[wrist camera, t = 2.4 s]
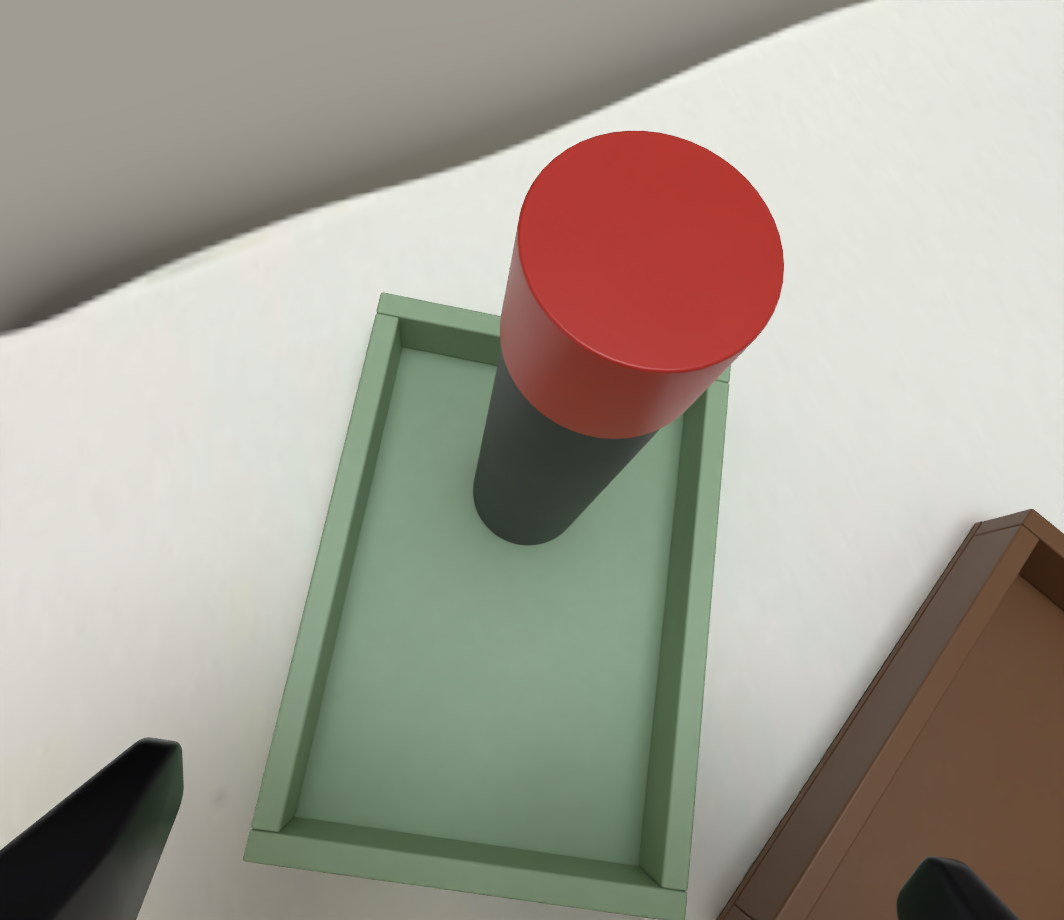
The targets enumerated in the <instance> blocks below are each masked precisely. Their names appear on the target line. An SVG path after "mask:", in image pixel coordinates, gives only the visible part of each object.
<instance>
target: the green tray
mask: <svg viewBox="0 0 1064 920" xmlns="http://www.w3.org/2000/svg"><path fill="white" fill-rule="evenodd" d="M500 319H501V316H497V315H492V314H487V313H482V312H477V311H472V310H467V309H462V308H457V307H452V306H447V305H442V304H437V303H432V302H427V301H422V300H417V299H412V298H407V297H403V296H398V295H393V294H388V293H381V295H380V299H379V303H378V307H377V314H376V316H375V320H374V324H373V328H372V332H371V336H370V340H369V344H368V348H367V353H366V357H365V361H364V365H363V369H362V373H361V377H360V381H359V385H358V390H357V394H356V398H355V402H354V406H353V410H352V414H351V418H350V422H349V427H348V431H347V435H346V439H345V443H344V447H343V451H342V455H341V459H340V463H339V468H338V472H337V476H336V480H335V484H334V488H333V492H332V496H331V500H330V505H329V509H328V513H327V517H326V521H325V525H324V529H323V533H322V537H321V541H320V546H319V550H318V554H317V558H316V562H315V566H314V570H313V574H312V578H311V583H310V587H309V591H308V595H307V599H306V603H305V607H304V611H303V615H302V620H301V624H300V628H299V632H298V636H297V640H296V644H295V648H294V652H293V656H292V661H291V665H290V669H289V673H288V677H287V681H286V685H285V689H284V693H283V698H282V702H281V706H280V710H279V714H278V718H277V722H276V726H275V730H274V734H273V739H272V743H271V747H270V751H269V755H268V759H267V763H266V767H265V771H264V776H263V780H262V784H261V788H260V792H259V796H258V800H257V804H256V808H255V813H254V817H253V821H252V828H253V829H252V830H251V831H250V832H249V837H248V841H247V845H246V849H245V853H244V857H243V860H244V861H245V862H253V863H260V864H267V865H274V866H281V867H288V868H296V869H303V870H310V871H317V872H324V873H331V874H338V875H346V876H353V877H360V878H367V879H374V880H381V881H389V882H396V883H403V884H410V885H417V886H424V887H432V888H439V889H446V890H453V891H460V892H467V893H474V894H482V895H489V896H496V897H503V898H510V899H517V900H525V901H532V902H539V903H546V904H553V905H560V906H567V907H575V908H582V909H589V910H596V911H603V912H610V913H618V914H625V915H632V916H639V917H646V918H653V919H661V920H685V914H686V902H687V892H686V890H687V888H688V876H689V864H690V852H691V840H692V828H693V816H694V804H695V791H696V779H697V767H698V755H699V743H700V731H701V719H702V707H703V695H704V682H705V670H706V658H707V646H708V634H709V622H710V610H711V598H712V586H713V573H714V561H715V549H716V537H717V525H718V513H719V501H720V489H721V476H722V464H723V452H724V440H725V428H726V416H727V404H728V392H729V384H728V383H729V380H730V368H731V365H730V366H729V367H728V368H727V369H726V370H725V371H724V372H723V373H722V374H721V375H720V376H719V377H718V378H717V379H716V380H715V381H714V382H713V383H712V384H711V385H710V386H709V387H708V388H707V389H706V390H705V391H704V392H703V393H702V395H701V396H700V397H699V398H698V399H697V400H696V401H695V402H694V403H693V404H692V405H691V406H690V407H689V408H688V409H687V410H686V411H685V412H684V413H683V414H682V415H680V416H679V417H678V418H677V419H675V420H674V421H672V422H671V423H670V424H668V425H666V426H664V427H662V428H661V429H660V430H659V431H658V432H657V433H656V434H655V435H654V436H653V437H652V439H651V440H650V441H649V442H648V443H647V444H646V445H645V446H644V447H643V448H642V449H641V450H640V451H639V452H638V454H637V455H636V456H635V457H634V458H633V459H632V460H631V461H630V462H629V463H628V464H627V465H626V466H625V467H624V469H623V470H622V471H621V472H620V473H619V474H618V475H617V476H616V477H615V478H614V479H613V480H612V481H611V482H610V483H609V485H608V486H607V487H606V488H605V489H604V490H603V491H602V492H601V493H600V494H599V495H598V496H597V497H596V498H595V500H594V501H593V502H592V503H591V504H590V505H589V506H588V507H587V508H586V509H585V510H584V511H583V512H582V513H581V514H580V516H579V517H578V518H577V519H576V520H575V521H574V522H573V523H572V524H571V525H570V526H569V527H568V528H567V529H566V530H565V531H564V532H563V533H562V534H561V535H559V536H558V537H556V538H555V539H553V540H551V541H548V542H546V543H542V544H538V545H519V544H514V543H511V542H508V541H506V540H504V539H502V538H500V537H498V536H497V535H495V534H494V533H493V532H492V531H491V530H489V528H488V527H487V526H486V525H485V524H484V523H483V521H482V520H481V518H480V516H479V514H478V512H477V510H476V507H475V503H474V499H473V483H474V478H475V473H476V468H477V463H478V458H479V453H480V448H481V443H482V439H483V434H484V429H485V424H486V419H487V414H488V409H489V404H490V399H491V394H492V389H493V384H494V379H495V374H496V369H497V364H498V359H499V354H500V349H501V342H500Z"/></svg>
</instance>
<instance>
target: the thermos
mask: <svg viewBox="0 0 1064 920" xmlns="http://www.w3.org/2000/svg"><path fill="white" fill-rule="evenodd" d="M783 272H784V261H783V249H782V245H781V240H780V235H779V232H778V230H777V227H776V224H775V221H774V219H773V217H772V215H771V213H770V211H769V209H768V207H767V205H766V204H765V202H764V201H763V199H762V198H761V196H760V195H759V193H758V192H757V191H756V189H755V188H754V187H753V186H752V185H751V183H750V182H749V181H748V180H747V179H746V178H745V177H744V176H743V175H742V174H741V173H740V172H739V171H738V170H737V169H736V168H734V167H733V166H732V165H730V164H729V163H728V162H726V161H725V160H724V159H722V158H721V157H719V156H718V155H716V154H714V153H713V152H711V151H709V150H708V149H706V148H704V147H701V146H699V145H697V144H695V143H693V142H690V141H687V140H685V139H682V138H679V137H676V136H671V135H667V134H663V133H657V132H648V131H622V132H613V133H608V134H603V135H599V136H595V137H593V138H590V139H587V140H585V141H582V142H580V143H578V144H576V145H574V146H572V147H570V148H568V149H567V150H565V151H564V152H563V153H561V154H560V155H558V156H557V157H556V158H554V159H553V160H552V161H551V162H550V163H549V164H548V165H547V166H546V167H545V168H544V169H543V170H542V171H541V173H540V174H539V175H538V177H537V178H536V179H535V181H534V182H533V184H532V185H531V187H530V189H529V191H528V193H527V195H526V197H525V200H524V203H523V205H522V208H521V212H520V217H519V222H518V227H517V233H516V238H515V243H514V249H513V254H512V260H511V265H510V271H509V276H508V281H507V287H506V292H505V298H504V303H503V308H502V314H501V319H500V342H501V349H500V354H499V359H498V364H497V369H496V374H495V379H494V384H493V389H492V394H491V399H490V404H489V409H488V414H487V419H486V424H485V429H484V434H483V439H482V443H481V448H480V453H479V458H478V463H477V468H476V473H475V478H474V483H473V499H474V503H475V507H476V510H477V512H478V514H479V516H480V518H481V520H482V521H483V523H484V524H485V525H486V526H487V527H488V528H489V530H491V531H492V532H493V533H494V534H495V535H497V536H498V537H500V538H502V539H504V540H506V541H508V542H511V543H514V544H519V545H538V544H542V543H546V542H548V541H551V540H553V539H555V538H556V537H558V536H559V535H561V534H562V533H563V532H564V531H565V530H566V529H567V528H568V527H569V526H570V525H571V524H572V523H573V522H574V521H575V520H576V519H577V518H578V517H579V516H580V514H581V513H582V512H583V511H584V510H585V509H586V508H587V507H588V506H589V505H590V504H591V503H592V502H593V501H594V500H595V498H596V497H597V496H598V495H599V494H600V493H601V492H602V491H603V490H604V489H605V488H606V487H607V486H608V485H609V483H610V482H611V481H612V480H613V479H614V478H615V477H616V476H617V475H618V474H619V473H620V472H621V471H622V470H623V469H624V467H625V466H626V465H627V464H628V463H629V462H630V461H631V460H632V459H633V458H634V457H635V456H636V455H637V454H638V452H639V451H640V450H641V449H642V448H643V447H644V446H645V445H646V444H647V443H648V442H649V441H650V440H651V439H652V437H653V436H654V435H655V434H656V433H657V432H658V431H659V430H660V429H661V428H662V427H664V426H666V425H668V424H670V423H671V422H672V421H674V420H675V419H677V418H678V417H679V416H680V415H682V414H683V413H684V412H685V411H686V410H687V409H688V408H689V407H690V406H691V405H692V404H693V403H694V402H695V401H696V400H697V399H698V398H699V397H700V396H701V395H702V393H703V392H704V391H705V390H706V389H707V388H708V387H709V386H710V385H711V384H712V383H713V382H714V381H715V380H716V379H717V378H718V377H719V376H720V375H721V374H722V373H723V372H724V371H725V370H726V369H727V368H728V367H729V366H730V365H731V363H732V362H733V361H734V360H735V359H736V358H737V357H738V356H739V355H740V354H741V353H742V352H743V351H744V350H745V349H746V348H747V347H748V346H749V345H750V344H751V343H752V342H753V341H754V340H755V339H756V338H757V336H758V335H759V334H760V333H761V331H762V330H763V329H764V328H765V326H766V325H767V323H768V322H769V320H770V318H771V316H772V315H773V313H774V311H775V308H776V305H777V303H778V300H779V297H780V293H781V288H782V284H783Z"/></svg>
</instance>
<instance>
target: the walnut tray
mask: <svg viewBox="0 0 1064 920" xmlns="http://www.w3.org/2000/svg"><path fill="white" fill-rule="evenodd" d="M929 856H937V857H943V858H950V859H956V860H959V861H961V862H963V863H965V864H966V865H967V866H968V867H970V868H971V869H972V870H973V871H974V872H975V873H976V874H977V875H978V876H979V878H980V879H981V880H982V881H983V882H984V883H985V884H986V885H987V886H988V887H989V888H990V889H991V890H992V891H993V892H994V893H995V894H996V895H997V896H998V897H999V898H1000V899H1001V900H1002V901H1003V902H1004V903H1005V904H1006V905H1007V906H1008V907H1009V908H1010V910H1011V911H1012V912H1013V913H1014V914H1015V915H1016V916H1017V917H1018V918H1019V919H1020V920H1064V534H1063V533H1062V532H1061V531H1060V530H1058V529H1057V528H1056V527H1055V526H1054V525H1052V524H1051V523H1050V522H1049V521H1047V520H1046V519H1045V518H1044V517H1042V516H1041V515H1040V514H1039V513H1038V512H1036V511H1035V510H1034V509H1029V510H1025V511H1021V512H1018V513H1014V514H1010V515H1007V516H1003V517H999V518H995V519H992V520H988V521H984V522H978V523H976V524H975V526H974V527H973V529H972V530H971V532H970V533H969V535H968V536H967V538H966V539H965V541H964V543H963V544H962V546H961V547H960V549H959V550H958V552H957V553H956V555H955V556H954V558H953V559H952V561H951V562H950V564H949V565H948V567H947V569H946V570H945V572H944V573H943V575H942V576H941V578H940V579H939V581H938V582H937V584H936V585H935V587H934V588H933V590H932V592H931V593H930V595H929V596H928V598H927V599H926V601H925V602H924V604H923V605H922V607H921V608H920V610H919V611H918V613H917V615H916V616H915V618H914V619H913V621H912V622H911V624H910V625H909V627H908V628H907V630H906V631H905V633H904V634H903V636H902V638H901V639H900V641H899V642H898V644H897V645H896V647H895V648H894V650H893V651H892V653H891V654H890V656H889V657H888V659H887V660H886V662H885V664H884V665H883V667H882V668H881V670H880V671H879V673H878V674H877V676H876V677H875V679H874V680H873V682H872V683H871V685H870V687H869V688H868V690H867V691H866V693H865V694H864V696H863V697H862V699H861V700H860V702H859V703H858V705H857V706H856V708H855V710H854V711H853V713H852V714H851V716H850V717H849V719H848V720H847V722H846V723H845V725H844V726H843V728H842V729H841V731H840V733H839V734H838V736H837V737H836V739H835V740H834V742H833V743H832V745H831V746H830V748H829V749H828V751H827V752H826V754H825V755H824V757H823V759H822V760H821V762H820V763H819V765H818V766H817V768H816V769H815V771H814V772H813V774H812V775H811V777H810V778H809V780H808V782H807V783H806V785H805V786H804V788H803V789H802V791H801V792H800V794H799V795H798V797H797V798H796V800H795V801H794V803H793V805H792V806H791V808H790V809H789V811H788V812H787V814H786V815H785V817H784V818H783V820H782V821H781V823H780V824H779V826H778V828H777V829H776V831H775V832H774V834H773V835H772V837H771V838H770V840H769V841H768V843H767V844H766V846H765V847H764V849H763V851H762V852H761V854H760V855H759V857H758V858H757V860H756V861H755V863H754V864H753V866H752V867H751V869H750V870H749V872H748V873H747V875H746V877H745V878H744V880H743V881H742V883H741V884H740V886H739V887H738V889H737V890H736V892H735V893H734V895H733V896H732V898H731V900H730V901H729V903H728V904H727V906H726V907H725V909H724V910H723V912H722V913H721V915H720V916H719V918H718V919H717V920H898V918H897V911H896V902H897V896H898V893H899V891H900V889H901V888H902V887H903V885H904V884H905V883H906V881H907V880H908V879H909V877H910V876H911V875H912V873H913V872H914V871H915V869H916V868H917V867H918V865H919V864H920V863H921V861H922V860H923V859H924V858H926V857H929Z"/></svg>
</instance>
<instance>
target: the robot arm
mask: <svg viewBox="0 0 1064 920" xmlns="http://www.w3.org/2000/svg"><path fill="white" fill-rule="evenodd" d="M183 788H184V785H183V761H182V748H181V746H180V744H179V743H178V742H176V741H171V740H164V739H158V738H151V737H148V738H143V739H141V740H139V741H137V742H136V743H134V744H133V745H132V746H131V747H129V748H128V749H127V750H125V751H124V752H123V753H122V754H120V755H119V756H118V757H117V758H115V759H114V760H113V761H112V762H110V763H109V764H108V765H107V766H105V767H104V768H103V769H102V770H100V771H99V772H98V773H97V774H95V775H94V776H93V777H92V778H90V779H89V780H88V781H87V782H85V783H84V784H83V785H82V786H80V787H79V788H78V789H77V790H75V791H74V792H73V793H72V794H70V795H69V796H68V797H66V798H65V799H64V800H63V801H61V802H60V803H59V804H58V805H56V806H55V807H54V808H53V809H51V810H50V811H49V812H48V813H46V814H45V815H44V816H43V817H41V818H40V819H39V820H38V821H36V822H35V823H34V824H33V825H31V826H30V827H29V828H28V829H26V830H25V831H24V832H23V833H21V834H20V835H19V836H18V837H16V838H15V839H14V840H13V841H11V842H10V843H9V844H7V845H6V846H5V847H4V848H2V849H1V850H0V920H136V919H137V916H138V913H139V911H140V908H141V906H142V903H143V901H144V898H145V895H146V893H147V890H148V888H149V885H150V882H151V880H152V877H153V875H154V872H155V870H156V867H157V864H158V862H159V859H160V857H161V854H162V852H163V849H164V846H165V844H166V841H167V839H168V836H169V833H170V831H171V828H172V826H173V823H174V821H175V818H176V815H177V813H178V810H179V807H180V804H181V800H182V796H183ZM896 911H897V918H898V920H1020V919H1019V918H1018V917H1017V916H1016V915H1015V914H1014V913H1013V912H1012V911H1011V910H1010V908H1009V907H1008V906H1007V905H1006V904H1005V903H1004V902H1003V901H1002V900H1001V899H1000V898H999V897H998V896H997V895H996V894H995V893H994V892H993V891H992V890H991V889H990V888H989V887H988V886H987V885H986V884H985V883H984V882H983V881H982V880H981V879H980V878H979V876H978V875H977V874H976V873H975V872H974V871H973V870H972V869H971V868H970V867H968V866H967V865H966V864H965V863H963V862H961V861H959V860H956V859H950V858H943V857H937V856H929V857H926V858H924V859H923V860H922V861H921V863H920V864H919V865H918V867H917V868H916V869H915V871H914V872H913V873H912V875H911V876H910V877H909V879H908V880H907V881H906V883H905V884H904V885H903V887H902V888H901V889H900V891H899V893H898V896H897V902H896Z"/></svg>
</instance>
